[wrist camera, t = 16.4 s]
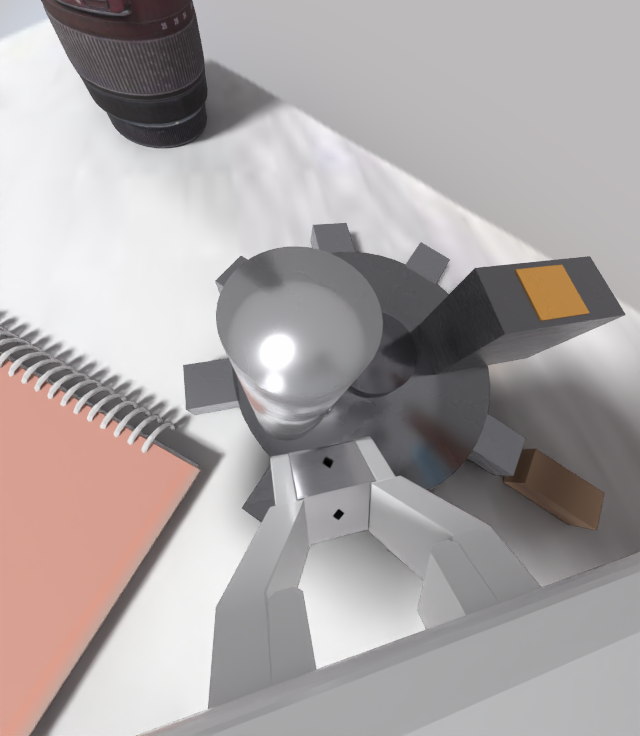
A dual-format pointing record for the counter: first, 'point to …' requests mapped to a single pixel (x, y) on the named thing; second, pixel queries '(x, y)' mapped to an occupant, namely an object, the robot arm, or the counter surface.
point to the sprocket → (345, 363)
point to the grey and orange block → (516, 312)
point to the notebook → (69, 523)
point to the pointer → (556, 489)
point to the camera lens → (138, 64)
